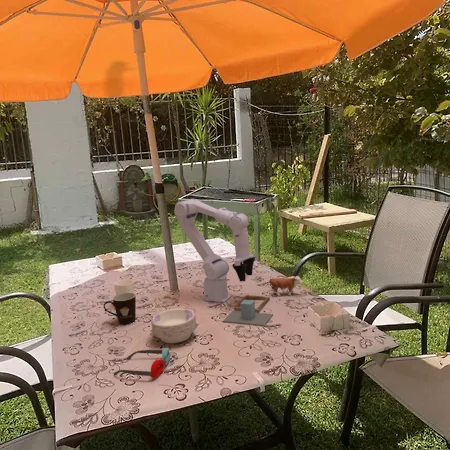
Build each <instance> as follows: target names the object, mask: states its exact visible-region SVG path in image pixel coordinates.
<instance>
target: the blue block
mask: <svg viewBox="0 0 450 450" xmlns="http://www.w3.org/2000/svg"><path fill="white" fill-rule="evenodd" d="M240 305H241V319H245V320H252V319H253V318H254V317H255V309H256V305H255V299H248V300H243V302H242V303H241V304H240Z"/></svg>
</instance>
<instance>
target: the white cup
mask: <svg viewBox="0 0 450 450" xmlns="http://www.w3.org/2000/svg"><path fill="white" fill-rule="evenodd" d="M113 284H114V291H115V295H118V294H121V293H134V294H135V282H134V279H127V278H126V279H120V280H117V281H114V283H113Z"/></svg>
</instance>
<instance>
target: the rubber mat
mask: <svg viewBox="0 0 450 450" xmlns="http://www.w3.org/2000/svg"><path fill="white" fill-rule="evenodd" d="M273 316H274V313H264V312H259V313H256V312H255V317H254V318H253V319H252V320H245V319H241V311H234V310H232V311H231V312H230V313H229V314H228V315H227V316H226V317H225V318H224V319H223V320H222V322H223V323H229V324H230V323H231V324H237V325H249V326H259V327H266V325H267V324H268V323H269V321H270V320H271V319H272V318H273Z"/></svg>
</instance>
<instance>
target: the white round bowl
mask: <svg viewBox="0 0 450 450" xmlns="http://www.w3.org/2000/svg"><path fill="white" fill-rule="evenodd" d="M150 323H151V329H152V334H153V336H155V337H156V338H159V339H160V340H161V341H162V342H164V343H166V344H179V343H182V342H184V341H186V340H188V339H190V337H191V336H192V333H193V332H195V331H196V330H197V326H198V325H197V318H196V313H195V311H194V310H191V309H188V308H172V309H167V310H163V311H161V312H157V313H155V315H153V317H152V318H151V320H150Z"/></svg>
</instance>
